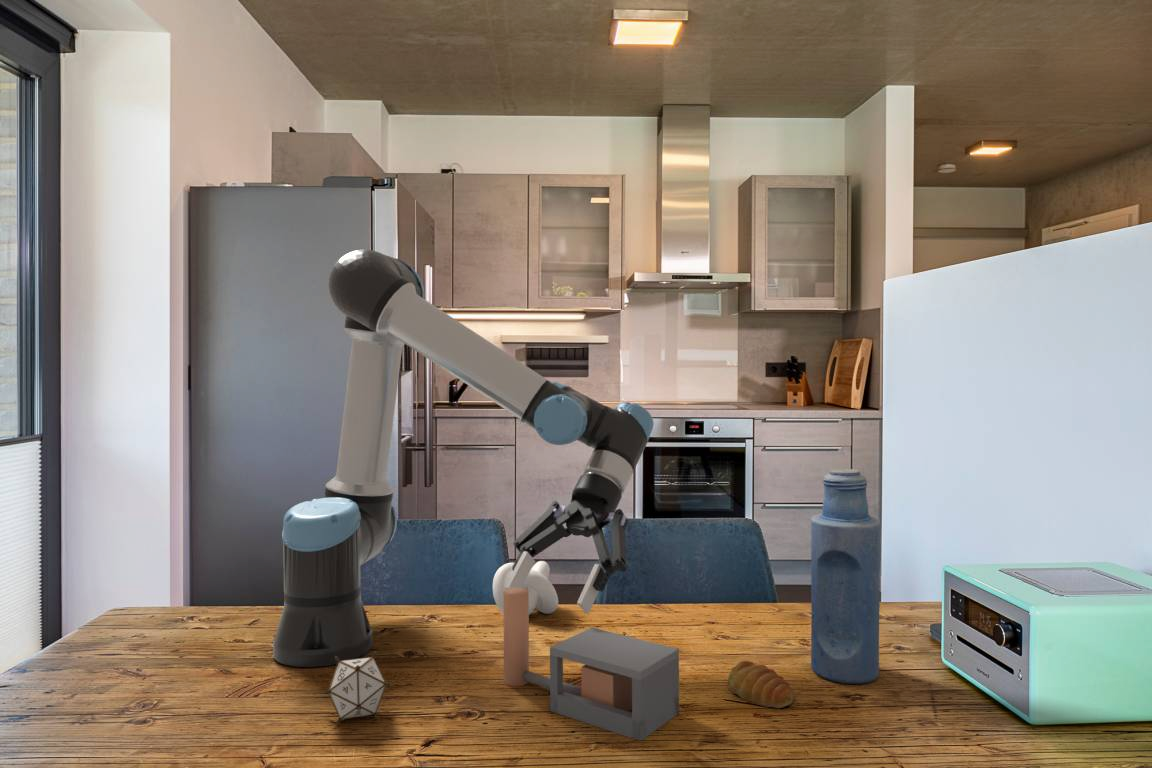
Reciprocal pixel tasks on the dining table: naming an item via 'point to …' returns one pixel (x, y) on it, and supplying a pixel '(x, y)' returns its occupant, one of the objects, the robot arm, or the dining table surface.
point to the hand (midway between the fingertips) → (545, 600)
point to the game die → (356, 687)
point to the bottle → (845, 582)
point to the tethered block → (516, 673)
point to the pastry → (760, 685)
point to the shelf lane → (626, 656)
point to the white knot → (528, 587)
